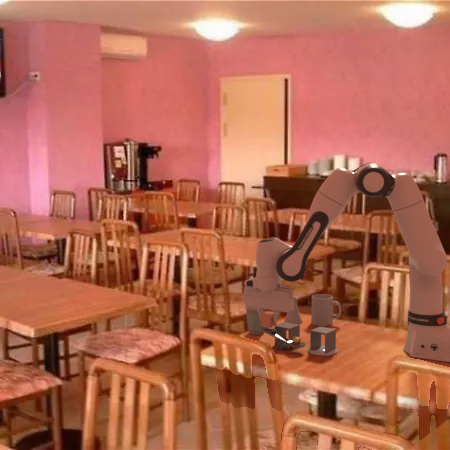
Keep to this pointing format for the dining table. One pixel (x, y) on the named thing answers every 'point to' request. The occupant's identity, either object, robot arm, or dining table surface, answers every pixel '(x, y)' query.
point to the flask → (294, 314)
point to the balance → (283, 339)
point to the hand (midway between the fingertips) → (268, 320)
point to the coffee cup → (254, 320)
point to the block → (267, 319)
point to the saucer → (321, 351)
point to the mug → (323, 310)
